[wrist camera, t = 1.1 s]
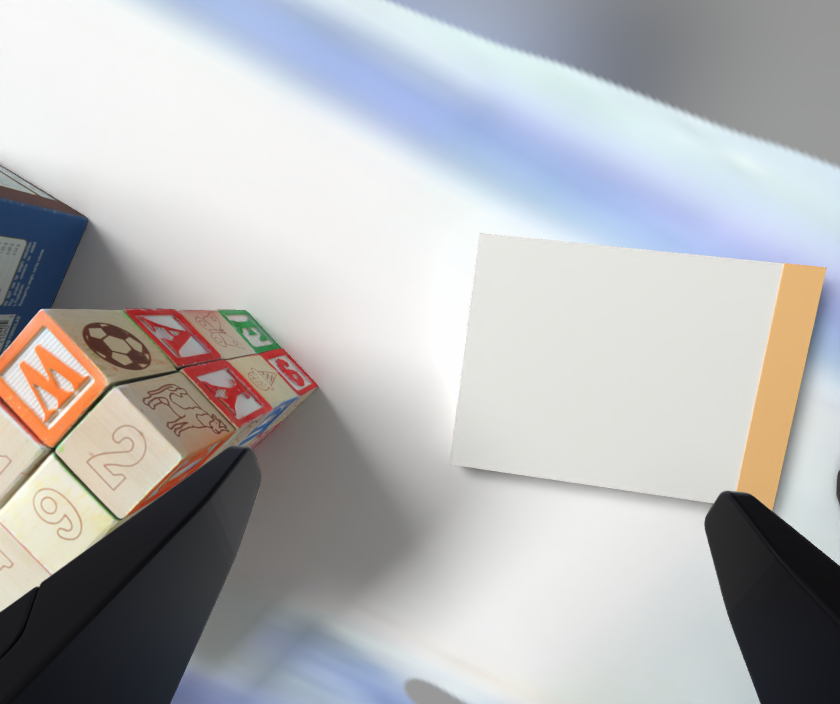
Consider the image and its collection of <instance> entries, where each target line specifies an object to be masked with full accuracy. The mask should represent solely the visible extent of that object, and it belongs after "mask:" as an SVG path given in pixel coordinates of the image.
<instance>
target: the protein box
mask: <svg viewBox="0 0 840 704" xmlns="http://www.w3.org/2000/svg"><path fill="white" fill-rule="evenodd" d="M86 225H87V218H86V217H85V216H84V215H82V214H81V213H79V212H77V211H76V210H74V209H72V208H71V207H69V206H68V205H66V204H64V203H62V202H61V201H59V200H57V199H55V198H54V197H52V196H51V195H49V194H47V193H46V192H44V191H42V190H40V189H39V188H37V187H36V186H34V185H32V184H31V183H29V182H27V181H26V180H24V179H22V178H21V177H19V176H18V175H16V174H14V173H13V172H11V171H9V170H8V169H6V168H4V167H2V166H1V165H0V356H1V355H2V353H3V352H4V351H5V350H6V349H7V348H8V347H9V346H10V345H11V344H12V342H13V341H14V340H15V339H16V338H17V336H18V335H19V334H20V333H21V332H22V330H23V329H24V328H25V327H26V326H27V324H28V323H29V322H30V321H31V320H32V319H33V317H34V316H35V315H36V314H37V313H38V312H39V311H40V310H41V309H50V308H51V305H52V303H53V301H54V299H55V296H56V294H57V292H58V289H59V287H60V285H61V283H62V280H63V278H64V276H65V273H66V271H67V269H68V266H69V264H70V262H71V260H72V258H73V255H74V253H75V250H76V248H77V246H78V244H79V241H80V239H81V237H82V235H83V232H84V230H85V227H86Z"/></svg>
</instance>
